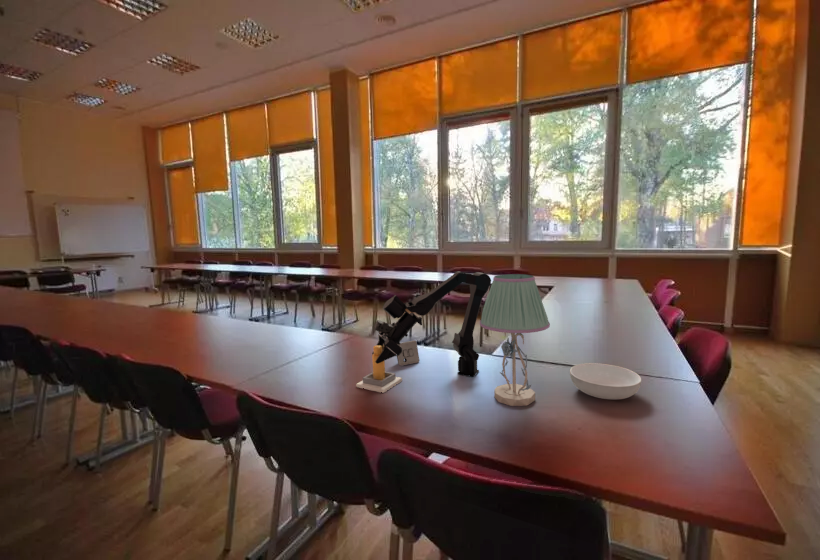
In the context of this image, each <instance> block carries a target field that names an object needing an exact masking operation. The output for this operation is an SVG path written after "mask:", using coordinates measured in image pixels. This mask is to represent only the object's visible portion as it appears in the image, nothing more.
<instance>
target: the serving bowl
mask: <svg viewBox="0 0 820 560" xmlns="http://www.w3.org/2000/svg"><path fill="white" fill-rule="evenodd" d="M569 375H570V379H571V382H572V383H573V384H574V386H575V388H577V389H578V390H579V391H580V392H581V393H584V394H586V395H588V396H591V397H594V398H598V399H603V400H624V399H628V398H631V397H632V396H634V395H635V394H637V392H639V390H640V387H641V384H642V380H643V379H642V377H641V376H640V375H639V374H638V373H636V372H635V371H632V370H631V369H628V368H626V367H622V366H618V365H614V364H605V363H599V362H598V363H597V362H596V363H595V362H591V363H589V362H588V363H579V364H575V365H573V366H571V368H570V369H569Z"/></svg>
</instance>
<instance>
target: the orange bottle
mask: <svg viewBox="0 0 820 560" xmlns="http://www.w3.org/2000/svg"><path fill="white" fill-rule="evenodd" d="M372 347H373V348H372V349H373V351H374V354H372V353H371V357H372V359H371V360H372V372H373V379H377V380H381V381H382V380H383V379H385V372H386V364H385V361H386V360H385V361H383V362H380V363H378V364H377V363H376V362H375V361H376V360H377V358H378V356H379V355H380V353H381V352H382V346H381V345H377V344H376V345H374V346H372Z"/></svg>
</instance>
